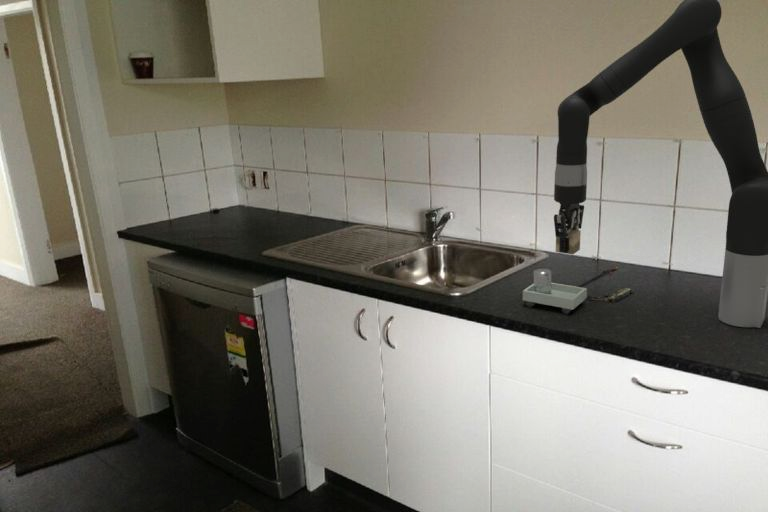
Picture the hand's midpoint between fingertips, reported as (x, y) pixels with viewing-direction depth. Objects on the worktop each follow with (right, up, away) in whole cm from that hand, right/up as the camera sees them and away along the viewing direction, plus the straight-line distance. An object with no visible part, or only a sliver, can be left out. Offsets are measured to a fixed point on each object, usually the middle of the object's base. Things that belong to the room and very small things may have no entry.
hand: (568, 249), depth 160 cm
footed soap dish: (-2, -14, +6) cm, 16 cm away
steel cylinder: (-5, -11, +7) cm, 14 cm away
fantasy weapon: (+18, -10, +18) cm, 28 cm away
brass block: (0, 0, 0) cm, 0 cm away
